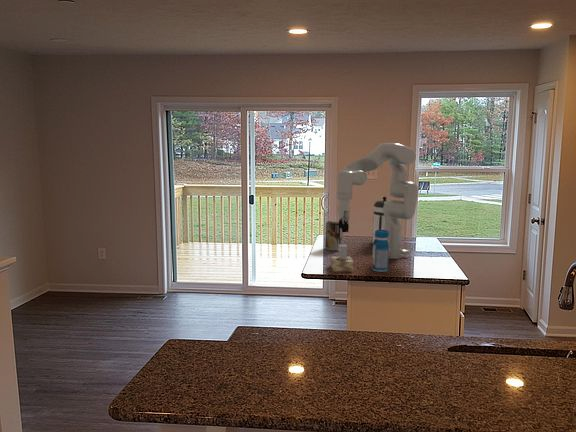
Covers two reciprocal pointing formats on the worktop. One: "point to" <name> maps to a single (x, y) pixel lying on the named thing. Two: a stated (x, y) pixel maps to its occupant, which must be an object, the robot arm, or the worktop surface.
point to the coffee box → (333, 236)
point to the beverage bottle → (380, 251)
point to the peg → (342, 252)
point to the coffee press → (378, 216)
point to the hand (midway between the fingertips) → (343, 230)
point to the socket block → (342, 264)
